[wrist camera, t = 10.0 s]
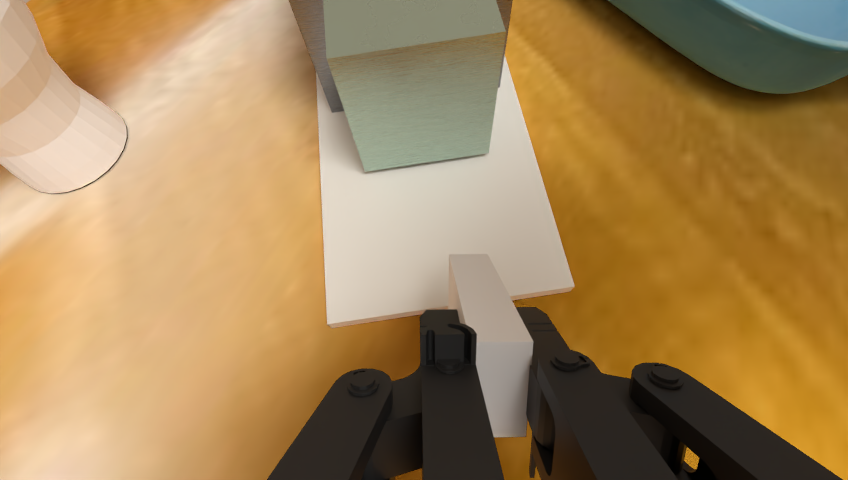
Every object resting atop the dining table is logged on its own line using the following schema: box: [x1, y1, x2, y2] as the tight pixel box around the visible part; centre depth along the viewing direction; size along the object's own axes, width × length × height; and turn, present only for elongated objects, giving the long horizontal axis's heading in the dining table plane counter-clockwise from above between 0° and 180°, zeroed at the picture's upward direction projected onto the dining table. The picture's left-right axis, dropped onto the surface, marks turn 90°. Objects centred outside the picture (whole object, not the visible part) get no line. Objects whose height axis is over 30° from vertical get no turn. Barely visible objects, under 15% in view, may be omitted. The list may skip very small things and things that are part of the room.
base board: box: [316, 56, 575, 328], centre depth 29 cm, size 26×14×1 cm, turn 8°
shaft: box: [323, 0, 506, 172], centre depth 26 cm, size 18×8×9 cm, turn 8°
